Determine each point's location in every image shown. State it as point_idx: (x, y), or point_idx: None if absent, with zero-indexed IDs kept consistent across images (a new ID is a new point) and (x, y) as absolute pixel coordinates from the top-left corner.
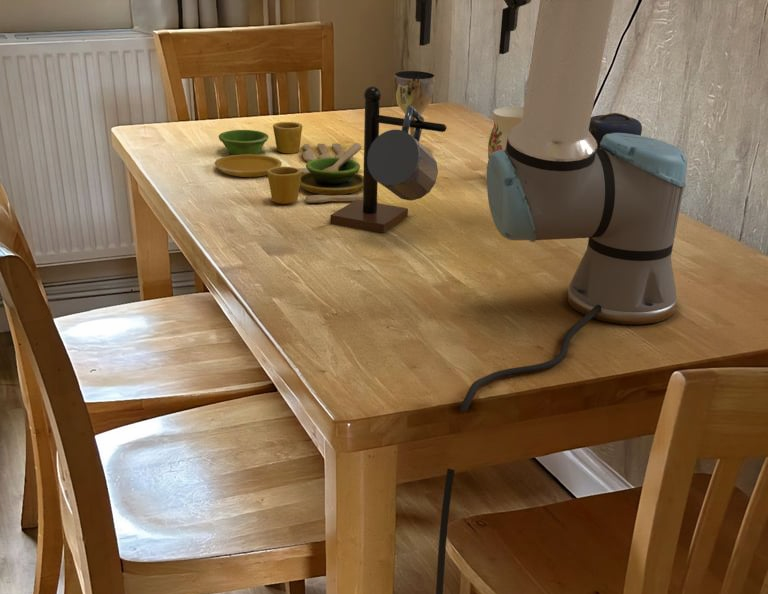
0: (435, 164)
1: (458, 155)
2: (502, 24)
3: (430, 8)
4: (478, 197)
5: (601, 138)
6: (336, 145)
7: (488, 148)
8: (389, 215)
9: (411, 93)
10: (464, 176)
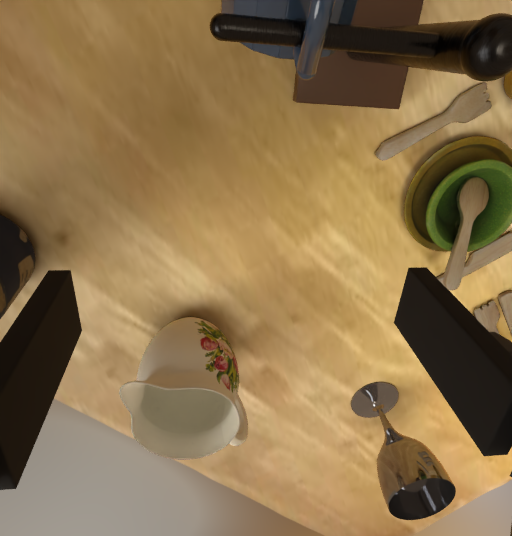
0: None
1: (308, 412)
2: (18, 349)
3: (465, 412)
4: (217, 258)
5: None
6: None
7: (233, 357)
8: None
9: (410, 457)
10: (271, 338)
